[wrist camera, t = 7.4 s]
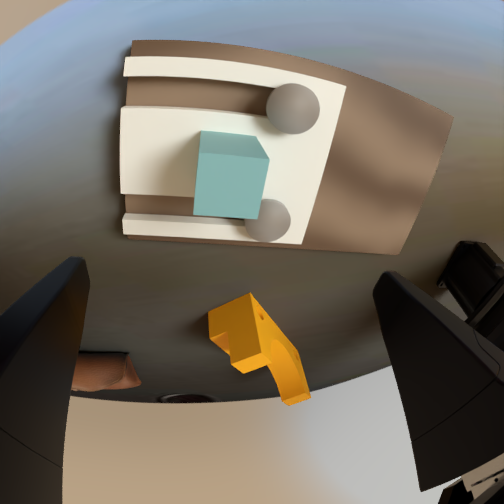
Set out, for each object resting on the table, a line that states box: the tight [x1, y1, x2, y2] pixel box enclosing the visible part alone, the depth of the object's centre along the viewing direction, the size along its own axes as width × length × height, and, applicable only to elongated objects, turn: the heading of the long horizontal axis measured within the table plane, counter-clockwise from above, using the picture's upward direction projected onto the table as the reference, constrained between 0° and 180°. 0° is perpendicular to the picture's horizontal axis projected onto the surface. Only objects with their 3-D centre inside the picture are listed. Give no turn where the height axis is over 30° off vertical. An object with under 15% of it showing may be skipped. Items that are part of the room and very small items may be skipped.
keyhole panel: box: [120, 56, 346, 244], centre depth 15 cm, size 11×12×5 cm
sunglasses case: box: [71, 353, 141, 392], centre depth 29 cm, size 18×7×7 cm, turn 87°
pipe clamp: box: [208, 293, 311, 406], centre depth 27 cm, size 12×4×6 cm, turn 28°
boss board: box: [125, 40, 454, 255], centre depth 17 cm, size 13×22×3 cm, turn 80°
